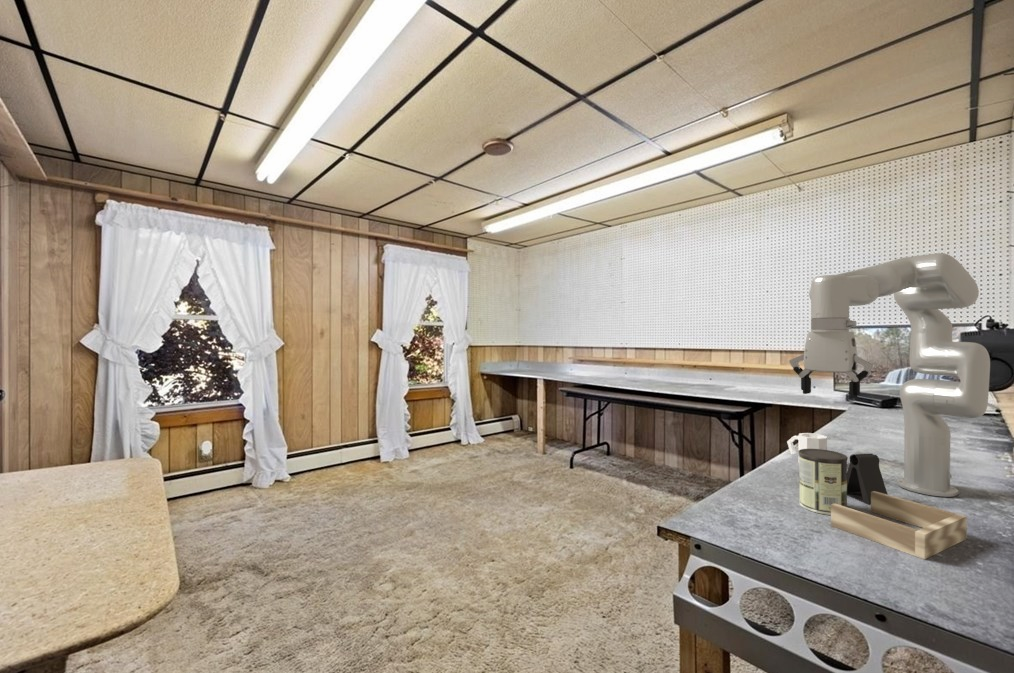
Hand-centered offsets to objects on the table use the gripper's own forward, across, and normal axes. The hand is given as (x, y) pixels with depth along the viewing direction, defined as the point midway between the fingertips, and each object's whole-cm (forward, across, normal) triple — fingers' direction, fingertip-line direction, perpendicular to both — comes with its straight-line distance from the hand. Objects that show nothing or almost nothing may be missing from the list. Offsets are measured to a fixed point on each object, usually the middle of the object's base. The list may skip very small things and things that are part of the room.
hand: (829, 395), depth 107 cm
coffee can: (+30, +3, -6) cm, 31 cm away
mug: (+30, +22, -45) cm, 58 cm away
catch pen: (+30, -12, -3) cm, 32 cm away
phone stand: (+30, -1, -22) cm, 37 cm away
